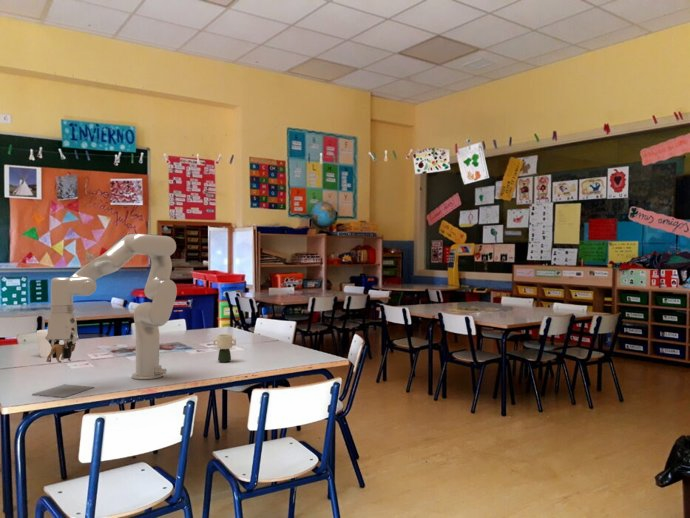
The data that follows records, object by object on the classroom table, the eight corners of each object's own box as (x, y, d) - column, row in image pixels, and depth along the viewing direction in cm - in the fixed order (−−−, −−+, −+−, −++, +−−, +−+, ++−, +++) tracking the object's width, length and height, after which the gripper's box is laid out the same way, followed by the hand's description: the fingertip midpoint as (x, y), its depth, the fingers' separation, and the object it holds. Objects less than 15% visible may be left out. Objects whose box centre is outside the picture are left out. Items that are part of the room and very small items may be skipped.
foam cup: (48, 358, 279) (48, 332, 279) (32, 357, 281) (32, 331, 281) (61, 354, 289) (61, 329, 288) (46, 354, 290) (46, 328, 290)
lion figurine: (63, 357, 221) (67, 334, 221) (76, 359, 221) (80, 336, 221) (42, 362, 206) (46, 338, 207) (56, 365, 206) (60, 340, 207)
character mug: (236, 360, 277) (237, 334, 277) (234, 363, 270) (234, 336, 270) (214, 360, 277) (214, 334, 276) (211, 363, 269) (211, 336, 269)
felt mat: (94, 387, 220) (94, 386, 220) (63, 397, 204) (63, 396, 204) (64, 385, 223) (64, 384, 223) (32, 395, 208) (32, 394, 208)
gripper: (87, 309, 215) (87, 357, 215) (51, 308, 220) (50, 355, 220) (73, 311, 208) (73, 361, 208) (35, 310, 212) (35, 358, 213)
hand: (61, 357), depth 214 cm, fingers closed on lion figurine, 4 cm apart
